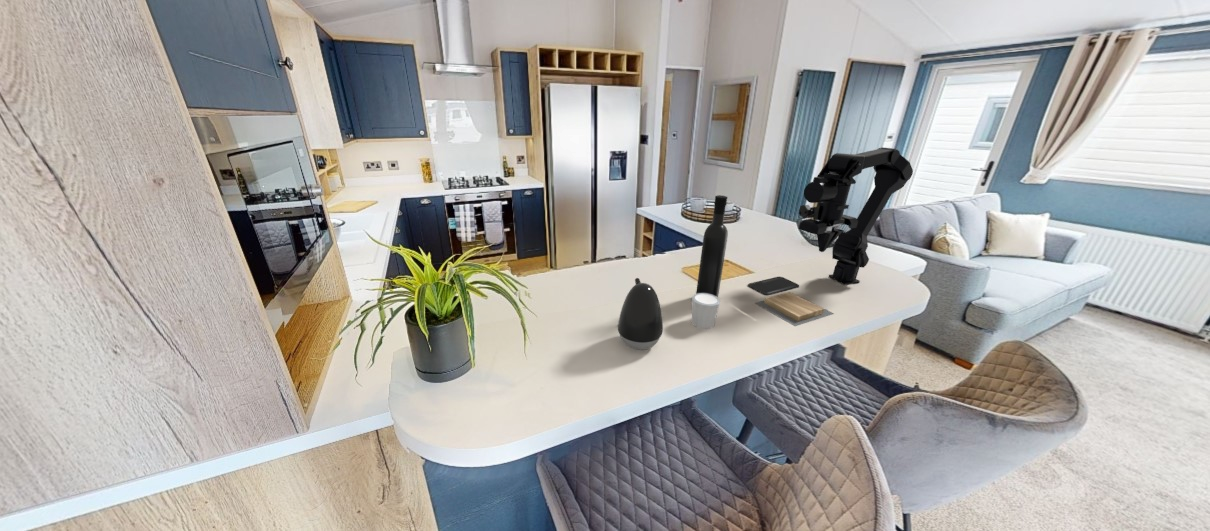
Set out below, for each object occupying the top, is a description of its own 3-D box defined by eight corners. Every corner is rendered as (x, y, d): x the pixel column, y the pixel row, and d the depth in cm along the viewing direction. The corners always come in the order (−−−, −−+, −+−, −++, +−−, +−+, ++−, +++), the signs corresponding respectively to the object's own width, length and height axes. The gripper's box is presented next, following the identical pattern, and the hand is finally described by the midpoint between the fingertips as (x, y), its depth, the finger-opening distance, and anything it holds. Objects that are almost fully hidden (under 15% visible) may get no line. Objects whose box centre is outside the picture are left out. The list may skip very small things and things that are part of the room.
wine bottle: (694, 302, 109) (707, 197, 97) (698, 294, 114) (712, 193, 102) (714, 307, 107) (731, 199, 95) (718, 298, 111) (734, 195, 100)
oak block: (789, 292, 112) (765, 298, 108) (824, 308, 103) (798, 316, 99) (788, 296, 113) (764, 303, 109) (822, 313, 104) (797, 321, 100)
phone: (800, 285, 119) (766, 294, 113) (800, 288, 120) (765, 297, 113) (780, 275, 126) (746, 283, 119) (779, 279, 126) (745, 287, 120)
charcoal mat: (791, 293, 115) (792, 293, 115) (834, 314, 104) (834, 313, 104) (754, 303, 109) (754, 302, 109) (794, 327, 98) (795, 326, 98)
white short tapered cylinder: (683, 322, 98) (686, 298, 96) (697, 313, 103) (701, 290, 100) (708, 333, 94) (711, 308, 91) (721, 323, 99) (725, 298, 96)
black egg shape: (653, 329, 95) (658, 273, 89) (667, 354, 86) (673, 293, 80) (613, 332, 93) (615, 275, 87) (622, 358, 84) (625, 296, 78)
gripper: (829, 192, 120) (817, 239, 126) (788, 196, 112) (777, 247, 118) (865, 199, 111) (850, 250, 117) (823, 205, 103) (809, 259, 109)
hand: (821, 251), depth 115 cm, fingers closed
